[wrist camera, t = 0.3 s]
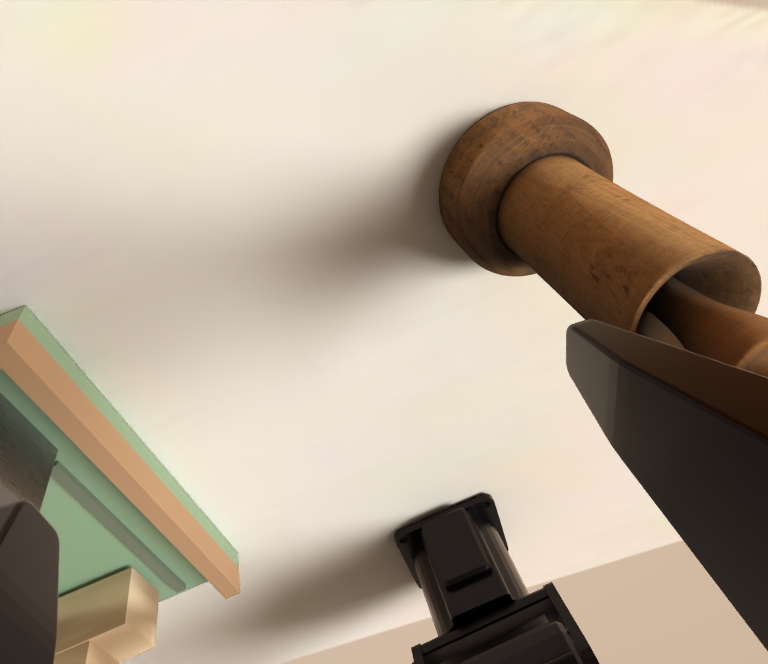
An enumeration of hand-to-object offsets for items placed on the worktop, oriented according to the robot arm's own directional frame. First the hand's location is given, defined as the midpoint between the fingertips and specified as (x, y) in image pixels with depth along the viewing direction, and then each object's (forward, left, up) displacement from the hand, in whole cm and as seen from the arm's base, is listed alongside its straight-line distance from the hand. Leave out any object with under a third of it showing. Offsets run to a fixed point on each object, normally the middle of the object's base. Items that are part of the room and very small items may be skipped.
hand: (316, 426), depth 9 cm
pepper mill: (-5, -9, -14) cm, 18 cm away
